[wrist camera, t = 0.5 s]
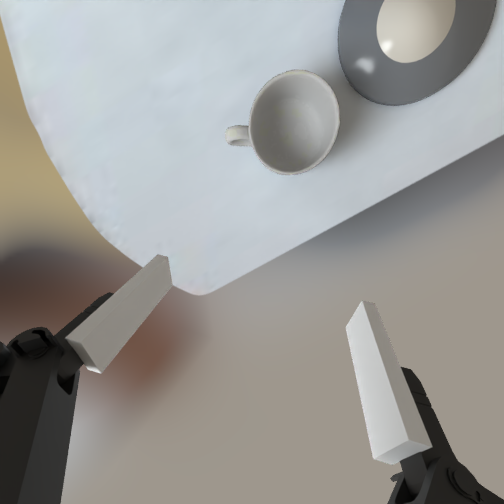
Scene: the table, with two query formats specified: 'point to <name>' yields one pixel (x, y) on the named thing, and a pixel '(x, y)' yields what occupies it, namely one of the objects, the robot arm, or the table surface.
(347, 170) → the table surface
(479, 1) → the saucer
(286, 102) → the teacup
